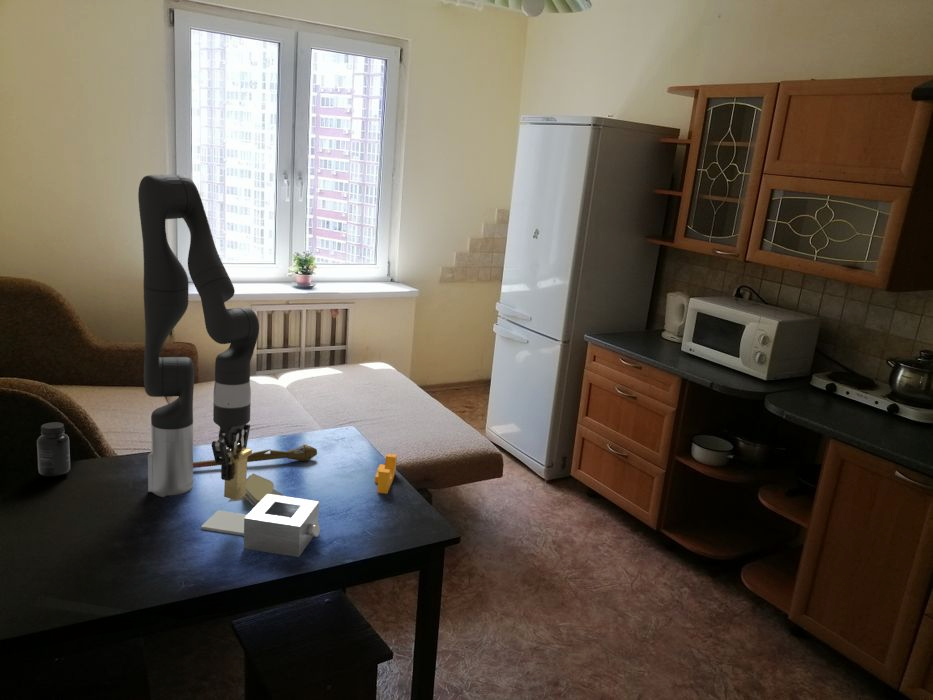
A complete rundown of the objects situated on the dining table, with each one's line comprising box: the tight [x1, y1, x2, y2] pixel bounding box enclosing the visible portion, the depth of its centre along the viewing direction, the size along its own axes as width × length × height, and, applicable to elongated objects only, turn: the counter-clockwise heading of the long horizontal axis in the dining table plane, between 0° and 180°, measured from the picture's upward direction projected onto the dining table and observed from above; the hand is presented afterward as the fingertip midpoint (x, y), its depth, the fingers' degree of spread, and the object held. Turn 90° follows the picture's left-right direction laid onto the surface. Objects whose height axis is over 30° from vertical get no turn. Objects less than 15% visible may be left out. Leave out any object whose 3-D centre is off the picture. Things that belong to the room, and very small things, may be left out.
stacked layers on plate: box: [227, 473, 285, 507], centre depth 169 cm, size 10×9×6 cm
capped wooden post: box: [223, 447, 253, 500], centre depth 155 cm, size 4×4×11 cm
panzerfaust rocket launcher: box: [193, 444, 318, 469], centre depth 189 cm, size 5×35×5 cm, turn 113°
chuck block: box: [243, 494, 321, 558], centre depth 153 cm, size 14×12×7 cm
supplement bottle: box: [36, 421, 71, 477], centre depth 174 cm, size 7×7×12 cm
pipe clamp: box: [374, 453, 398, 494], centre depth 185 cm, size 12×4×6 cm, turn 176°
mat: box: [200, 509, 248, 537], centre depth 158 cm, size 10×8×1 cm
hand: (230, 475), depth 155 cm, fingers closed on capped wooden post, 3 cm apart
